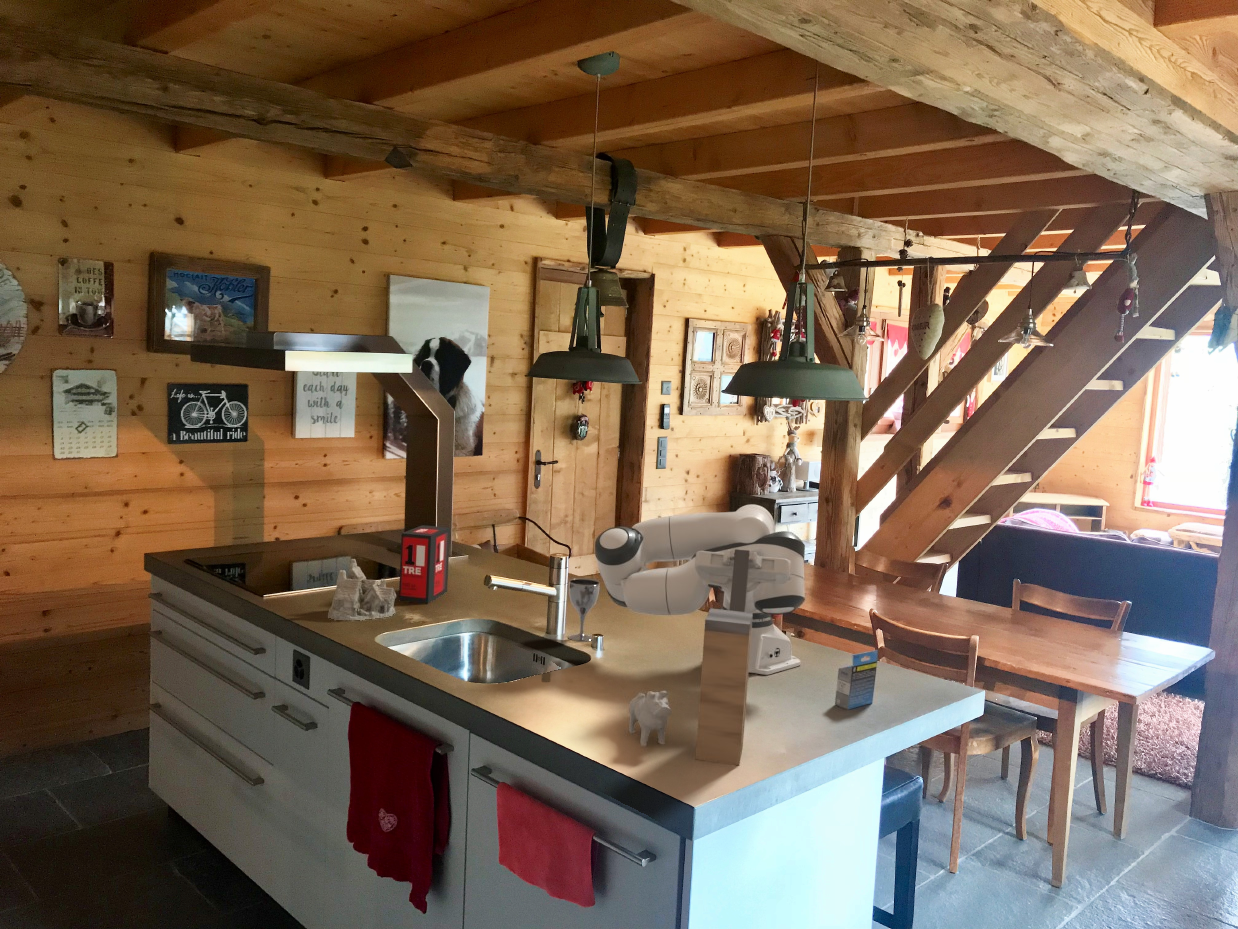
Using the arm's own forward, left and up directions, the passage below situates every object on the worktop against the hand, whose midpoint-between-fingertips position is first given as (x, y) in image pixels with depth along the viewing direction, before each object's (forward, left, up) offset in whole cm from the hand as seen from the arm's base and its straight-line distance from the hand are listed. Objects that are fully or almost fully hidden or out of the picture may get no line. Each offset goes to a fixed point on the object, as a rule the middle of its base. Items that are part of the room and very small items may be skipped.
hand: (741, 554), depth 198 cm
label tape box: (-29, +8, -34) cm, 45 cm away
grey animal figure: (+25, +6, -34) cm, 42 cm away
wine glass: (0, -60, -34) cm, 68 cm away
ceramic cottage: (+45, -101, -34) cm, 116 cm away
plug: (-1, -1, -9) cm, 9 cm away
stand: (+17, +17, -33) cm, 41 cm away
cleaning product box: (+21, -116, -34) cm, 122 cm away
